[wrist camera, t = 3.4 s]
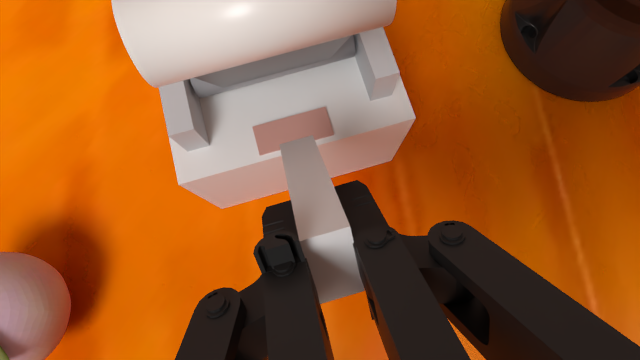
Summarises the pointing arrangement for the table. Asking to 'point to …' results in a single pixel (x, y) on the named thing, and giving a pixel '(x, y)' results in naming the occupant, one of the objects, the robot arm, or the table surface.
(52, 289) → the decorative fruit
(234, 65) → the lever
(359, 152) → the box
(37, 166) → the table surface
